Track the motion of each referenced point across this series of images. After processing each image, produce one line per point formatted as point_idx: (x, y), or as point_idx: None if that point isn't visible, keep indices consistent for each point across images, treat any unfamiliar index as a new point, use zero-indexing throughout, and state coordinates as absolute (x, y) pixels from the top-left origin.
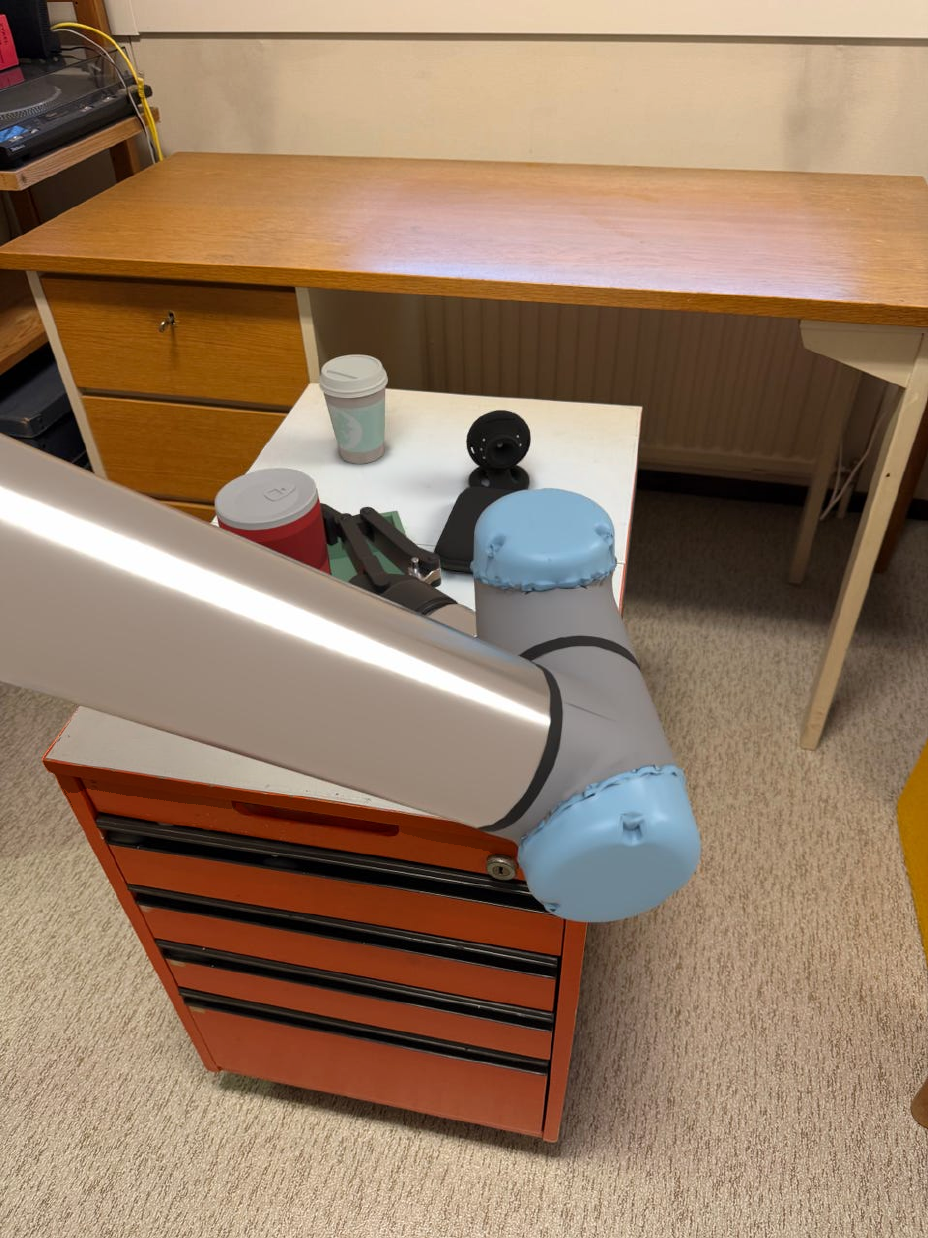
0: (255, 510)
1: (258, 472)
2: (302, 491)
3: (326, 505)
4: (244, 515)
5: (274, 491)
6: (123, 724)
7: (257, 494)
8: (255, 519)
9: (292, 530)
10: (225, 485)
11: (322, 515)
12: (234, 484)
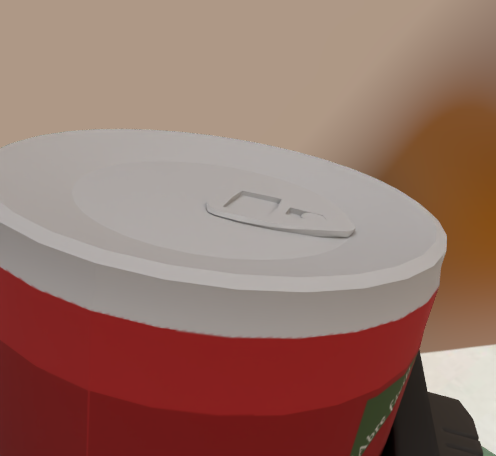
0: (113, 190)
1: (316, 161)
2: (344, 256)
3: (469, 424)
4: (63, 177)
5: (269, 203)
6: None
7: (220, 183)
8: (16, 187)
9: (68, 356)
10: (204, 136)
11: (401, 440)
12: (224, 145)
